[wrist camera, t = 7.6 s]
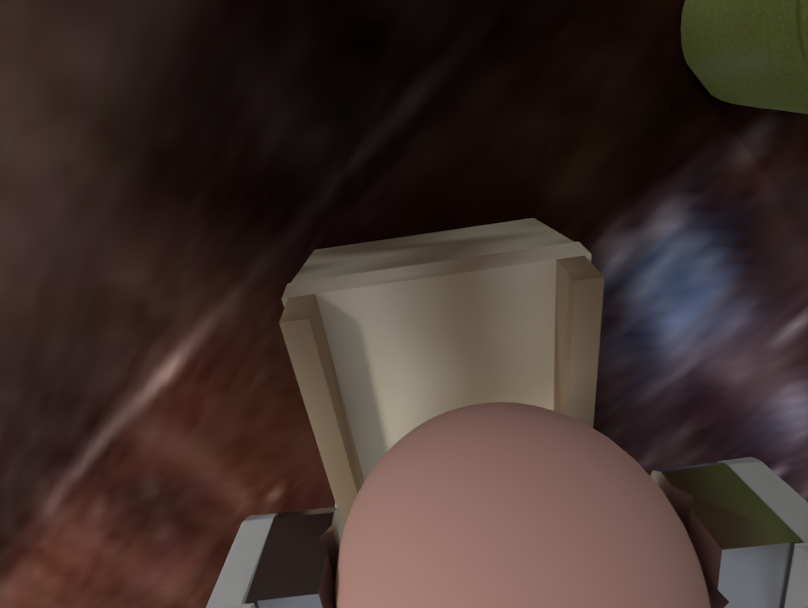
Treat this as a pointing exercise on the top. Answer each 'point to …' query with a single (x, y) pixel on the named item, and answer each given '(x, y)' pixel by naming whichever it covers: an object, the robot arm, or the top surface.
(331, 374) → the launch ramp
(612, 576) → the rubber ball
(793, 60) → the plant pot
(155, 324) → the top surface
